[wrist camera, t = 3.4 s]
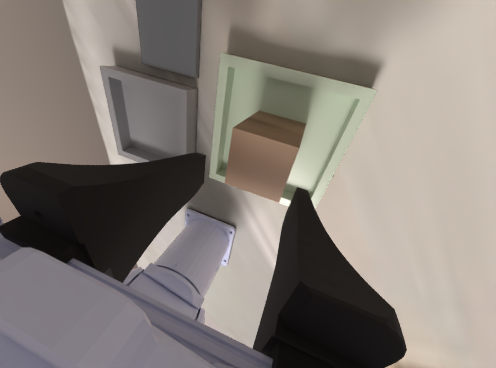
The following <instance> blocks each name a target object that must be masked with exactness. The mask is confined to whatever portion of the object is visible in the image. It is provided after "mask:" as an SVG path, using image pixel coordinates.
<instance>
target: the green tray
mask: <svg viewBox="0 0 496 368" xmlns="http://www.w3.org/2000/svg"><path fill="white" fill-rule="evenodd" d="M377 91H378V90H375V89H373V88H369V87H365V86H360V85H356V84H352V83H348V82H344V81H340V80H336V79H331V78H327V77H323V76H319V75H315V74H311V73H306V72H302V71H298V70H294V69H290V68H286V67H281V66H277V65H273V64H269V63H265V62H261V61H256V60H252V59H248V58H244V57H240V56H236V55H232V54H226V53H220V61H219V72H218V84H217V95H216V106H215V117H214V128H213V139H212V150H211V161H210V172H209V178H211V179H214V180H217V181H220V182H222V183H225V177H226V170H227V163H228V156H229V150H230V143H231V136H232V129H233V127H234V126H236V125H238V124H239V123H241V122H242V121H244V120H245V119H247V118H248V117H250V116H251V115H253V114H254V113H256V112H258V111H259V110H260V111H263V112H267V113H270V114H274V115H277V116H281V117H284V118H288V119H291V120H295V121H298V122H302V123H305V124H306V127H305V131H304V134H303V138H302V141H301V145H300V148H299V151H298V153H297V156H296V159H295V161H294V164H293V167H292V170H291V172H290V175H289V178H288V180H287V183H286V186H285V188H284V191H283V194H282V196H281V199H280V202H279V203H280V204H283V205H286V206H289V205H290V203H291V200H292V198H293V195H294V193H295V191H296V188H297V187H299V188H302V189H305V190H308V192H309V195H310V198H311V200H312V203H313V205H314V208H315V209H316V207H317V205H318V203H319V201H320V199H321V197H322V195H323V194H324V192H325V190H326V188H327V186H328V184H329V182H330V180H331V178H332V176H333V175H334V173H335V171H336V169H337V167H338V165H339V163H340V161H341V159H342V158H343V156H344V154H345V152H346V150H347V148H348V146H349V144H350V142H351V141H352V139H353V137H354V135H355V133H356V131H357V129H358V127H359V125H360V123H361V122H362V120H363V118H364V116H365V114H366V112H367V110H368V108H369V106H370V105H371V103H372V101H373V99H374V97H375V95H376V93H377ZM225 184H226V183H225ZM228 185H229V184H228ZM233 187H234V186H233ZM236 188H237V187H236ZM239 189H240V188H239ZM247 192H248V191H247ZM250 193H251V192H250ZM258 196H259V195H258ZM261 197H262V196H261ZM269 200H270V199H269ZM272 201H273V200H272Z"/></svg>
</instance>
